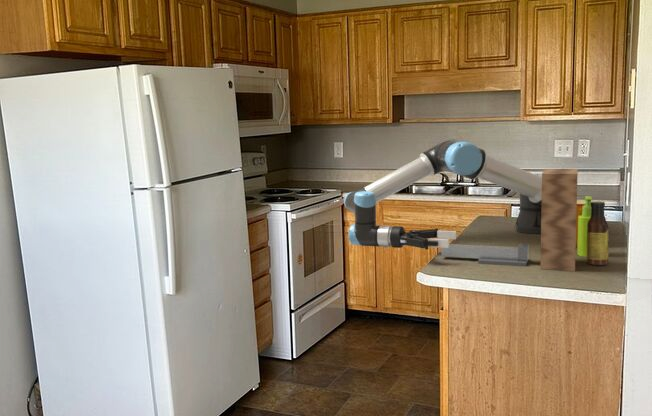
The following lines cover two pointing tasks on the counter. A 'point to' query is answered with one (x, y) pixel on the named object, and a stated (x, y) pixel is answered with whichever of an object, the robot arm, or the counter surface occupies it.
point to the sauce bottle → (597, 235)
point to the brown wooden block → (558, 219)
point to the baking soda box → (579, 212)
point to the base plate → (502, 262)
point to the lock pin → (487, 252)
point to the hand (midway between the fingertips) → (452, 239)
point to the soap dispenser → (583, 227)
